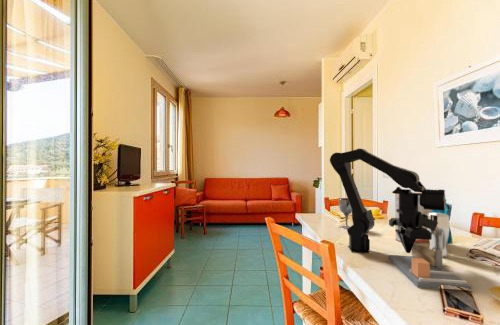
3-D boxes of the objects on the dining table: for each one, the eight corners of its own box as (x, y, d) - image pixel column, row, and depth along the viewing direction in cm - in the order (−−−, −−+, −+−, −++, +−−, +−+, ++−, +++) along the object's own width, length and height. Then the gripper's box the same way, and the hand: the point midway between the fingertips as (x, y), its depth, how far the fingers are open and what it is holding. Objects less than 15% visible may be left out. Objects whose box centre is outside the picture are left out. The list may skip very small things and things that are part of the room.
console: (417, 287, 70) (417, 261, 70) (388, 259, 90) (388, 239, 90) (471, 291, 68) (471, 264, 68) (428, 261, 88) (428, 241, 88)
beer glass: (453, 258, 91) (453, 216, 91) (430, 256, 93) (430, 215, 93) (444, 252, 97) (444, 212, 98) (423, 250, 99) (423, 211, 99)
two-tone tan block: (437, 266, 80) (437, 251, 80) (434, 266, 80) (434, 251, 80) (414, 255, 89) (414, 242, 89) (411, 255, 89) (411, 242, 89)
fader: (417, 277, 72) (417, 262, 72) (411, 272, 75) (411, 257, 75) (429, 278, 71) (429, 263, 71) (422, 272, 75) (422, 258, 75)
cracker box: (420, 238, 117) (420, 192, 117) (432, 242, 111) (432, 193, 111) (394, 239, 114) (394, 192, 114) (405, 244, 108) (405, 194, 108)
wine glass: (357, 229, 131) (357, 200, 131) (341, 229, 131) (341, 200, 131) (351, 225, 138) (351, 198, 139) (336, 225, 139) (336, 198, 139)
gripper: (450, 213, 78) (450, 264, 78) (420, 204, 96) (420, 245, 96) (411, 212, 80) (410, 262, 80) (388, 203, 98) (388, 243, 98)
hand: (408, 252), depth 88 cm, fingers closed
